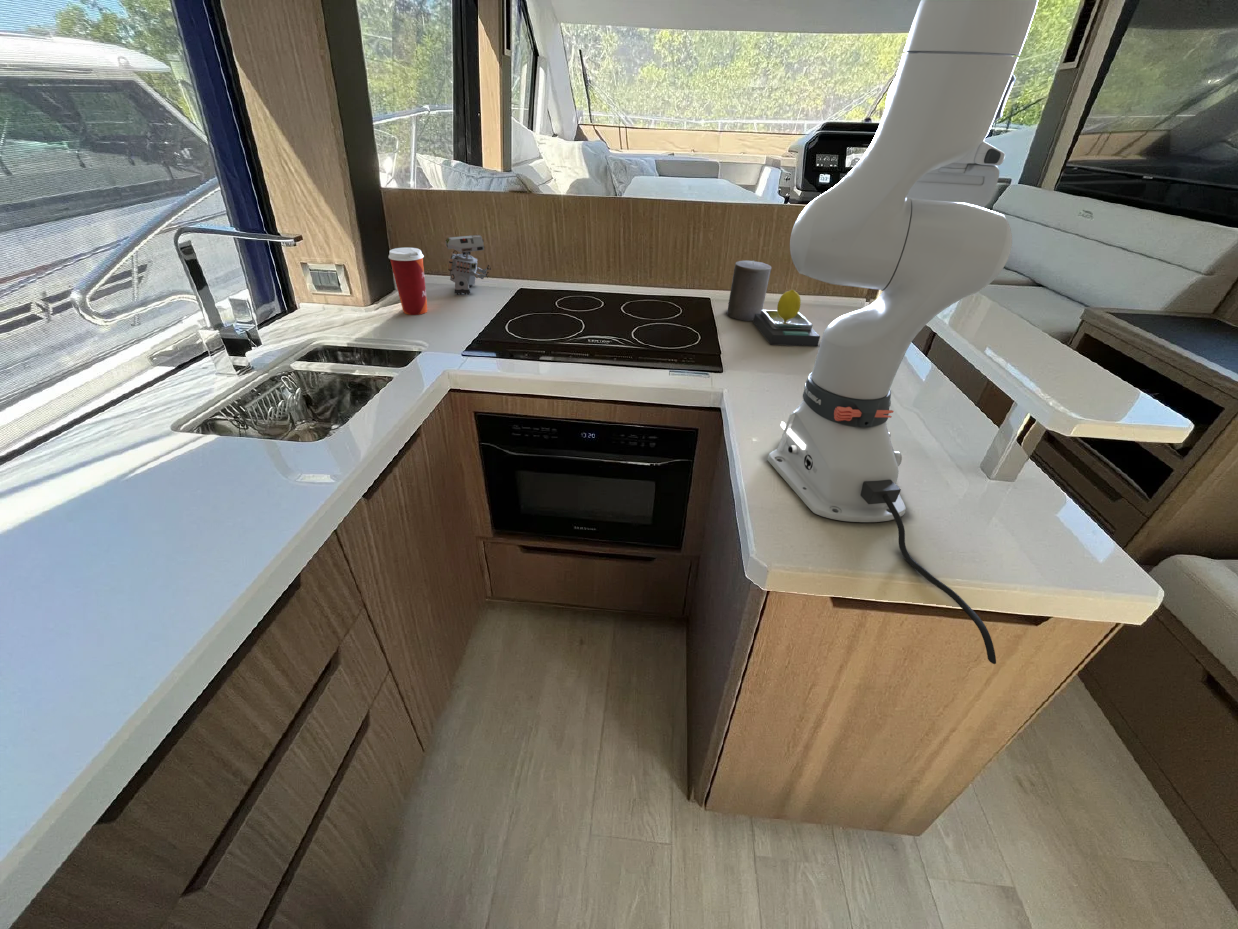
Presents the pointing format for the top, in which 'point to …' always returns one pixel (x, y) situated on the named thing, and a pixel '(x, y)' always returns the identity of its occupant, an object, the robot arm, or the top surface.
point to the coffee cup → (409, 279)
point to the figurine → (465, 262)
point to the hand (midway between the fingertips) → (925, 229)
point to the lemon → (789, 305)
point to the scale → (786, 335)
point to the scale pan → (779, 324)
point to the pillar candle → (748, 289)
